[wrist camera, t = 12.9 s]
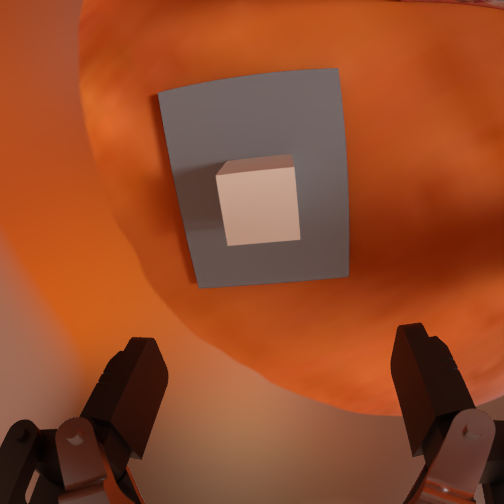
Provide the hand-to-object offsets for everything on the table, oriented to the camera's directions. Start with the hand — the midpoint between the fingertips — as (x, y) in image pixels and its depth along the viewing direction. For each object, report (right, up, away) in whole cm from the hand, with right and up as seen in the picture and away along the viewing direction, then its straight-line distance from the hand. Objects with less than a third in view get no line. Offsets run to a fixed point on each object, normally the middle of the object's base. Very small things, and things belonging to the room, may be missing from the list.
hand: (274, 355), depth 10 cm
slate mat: (0, +9, +16) cm, 18 cm away
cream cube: (0, +8, +15) cm, 17 cm away
